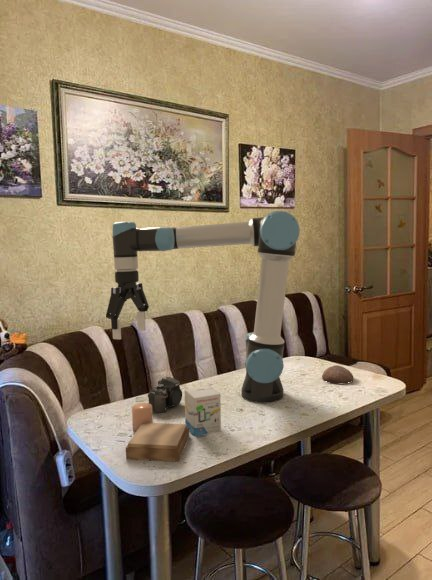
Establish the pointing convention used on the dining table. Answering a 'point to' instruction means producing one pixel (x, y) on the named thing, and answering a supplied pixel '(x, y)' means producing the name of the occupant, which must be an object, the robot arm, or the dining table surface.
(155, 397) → the camera
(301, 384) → the dining table surface
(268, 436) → the dining table surface
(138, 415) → the peach domed cylinder
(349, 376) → the decorative stone
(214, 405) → the ink box
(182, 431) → the stand
